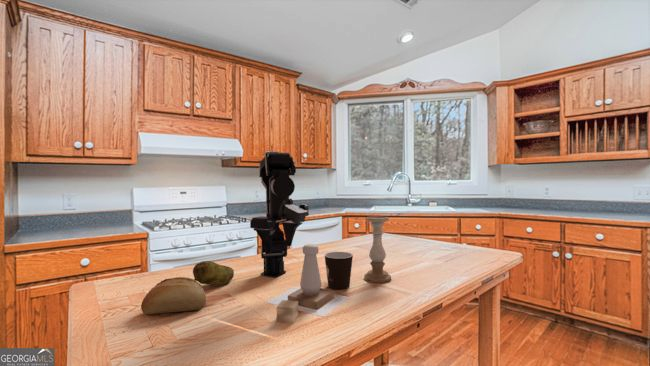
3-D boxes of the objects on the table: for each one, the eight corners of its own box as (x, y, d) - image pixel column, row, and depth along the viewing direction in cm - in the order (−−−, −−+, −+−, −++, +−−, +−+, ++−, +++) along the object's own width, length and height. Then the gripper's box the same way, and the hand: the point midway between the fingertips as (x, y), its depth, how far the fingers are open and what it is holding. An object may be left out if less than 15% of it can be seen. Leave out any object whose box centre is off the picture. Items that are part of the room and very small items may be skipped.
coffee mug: (351, 293, 90) (351, 259, 90) (322, 291, 92) (321, 257, 92) (355, 280, 102) (355, 250, 102) (329, 279, 104) (329, 249, 103)
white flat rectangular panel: (265, 303, 83) (265, 302, 83) (295, 287, 95) (295, 286, 95) (324, 318, 74) (324, 316, 74) (349, 298, 87) (349, 296, 87)
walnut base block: (287, 303, 83) (287, 295, 83) (306, 292, 91) (306, 285, 91) (316, 309, 78) (316, 301, 78) (333, 297, 86) (333, 290, 86)
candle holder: (382, 273, 109) (382, 215, 109) (396, 281, 101) (396, 218, 100) (359, 276, 106) (359, 216, 106) (371, 284, 98) (371, 219, 98)
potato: (238, 285, 98) (238, 259, 98) (194, 293, 92) (194, 265, 92) (232, 278, 105) (231, 254, 105) (190, 284, 99) (190, 259, 99)
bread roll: (145, 307, 82) (145, 277, 82) (206, 299, 87) (206, 271, 87) (137, 323, 73) (136, 289, 73) (206, 313, 78) (205, 281, 78)
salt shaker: (300, 289, 87) (299, 243, 87) (320, 288, 88) (320, 242, 88) (300, 297, 81) (300, 247, 81) (322, 296, 82) (322, 246, 82)
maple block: (276, 323, 72) (276, 306, 72) (282, 316, 76) (282, 300, 76) (293, 325, 71) (293, 307, 71) (298, 317, 75) (298, 301, 75)
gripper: (281, 198, 79) (282, 260, 79) (319, 194, 95) (319, 245, 95) (248, 197, 84) (249, 254, 85) (289, 193, 101) (290, 242, 101)
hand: (279, 249), depth 91 cm, fingers open, 9 cm apart
